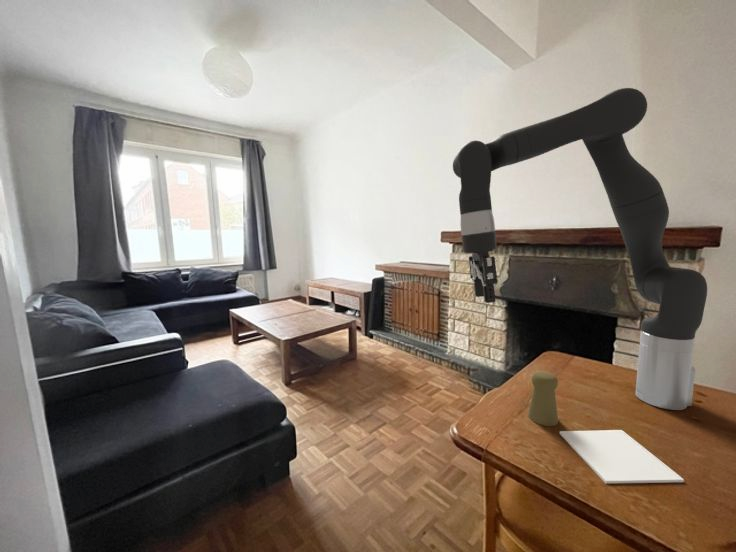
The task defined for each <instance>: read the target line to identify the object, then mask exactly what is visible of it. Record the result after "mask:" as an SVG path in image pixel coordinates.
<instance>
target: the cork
mask: <svg viewBox="0 0 736 552" xmlns="http://www.w3.org/2000/svg"><path fill="white" fill-rule="evenodd" d="M531 382H532V385H533V389H532V393H531V399H530V402H529V409H528V414H527V415H528V418H529V419H530V420H531V421H532V422H534V423H535V424H537V425H540V426H545V427H555V426H557V425H558V424H559V415H558V408H557V407H558V406H557V398H556V389H557V387H558V385H559V380H558V378H557V376H556V375H555V374H553V372H550V371H547V370H537V371H534V372H533V373H532V375H531Z"/></svg>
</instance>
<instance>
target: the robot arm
mask: <svg viewBox="0 0 736 552" xmlns="http://www.w3.org/2000/svg"><path fill="white" fill-rule="evenodd" d="M647 110H648V101H647V97H646V96H645V94H644V93H643V92H642V91H640V90H638V89H637V88H632V87H623V88H619V89H616V90H613V91H611V92H608V93H607V94H605V95H604V96H603V97H601V98H599V99H598V100H595V101H593V102H592V103H589V104H587V105H584V106H581V107H580V108H577V109H574V110H573V111H570V112H568V113H564V114H561V115H559V116H556V117H553V118H550V119H547V120H542V121H540V122H537V123H533V124H531V125H527V126H525V127H521V128H517V129H514V130H512V131H509V132H505V133H503V134H501V135H499V136H497V137H495V139H493V140H492V141H489V142H486V143H484V142H483V141H480V140H471V141H469V142H466V143H465V144H464V145H463V146H462V147H461V148H460V149H459V151H458V152H457V154H456V155H455V157H454V159H453V163H452V171H453V172H454V175H455V176H456V177H458V178H459V179H460V187H461V188H460V191H459V194H458V202H459V205H458V206H459V213H460V233H461V235H460V236H461V244H462V252H463V254H468V255H469V254H472V255H470V256H468V264H469V265H468V266H469V273H470V279H471V281H472V282H473V287H474V296H475V297H477V298H480V297H483V298H484V299H483V301H484V302H485V303H486V304H489V303H490V304H491V303H495V302H496V294H495V285H496V284H498V276H497V274H498V273H497V266H496V258H495V256H490V254H489V253H490V252H494V251H496V250H497V249H498V245H497V238H496V237H497V236H496V225H495V218H494V215H493V214H494V212H493V208H492V207H493V206H492V197H491V192H490V191H491V179H492V172H493V171H495V170H497V169H500V168H501V169H502V168H503V167H507V166H512V165H514V164H517V163H521V162H524V161H527V160H531V159H534V158H536V157H539V156H542V155H544V154H546V153H549V152H551V151H554V150H556V149H558V148H561V147H563V146H566V145H569V144H572V143H574V142H577V141H581V140H582V142H583V144H584V146H585V147H586V149H587V152H588V153H589V156H590V157H591V159H592V160H593V162H594V165H595V167H596V169H597V172H598V175H599V177H600V180H601V182H602V183H601V184H602V186H603V187H604V189H605V193H606V195H607V199H608V202H609V204H610V207H611V210H612V213H613V216H614V218H615V221H616V223H617V226H618V228H619V231H620V234H621V236H622V240H623V243H624V245H625V249H626V251H627V255H628V259H629V262H630V267H631V272H632V277H633V281H634V285H635V288H636V290H637V293H638V294H639V296H641V298H643V299H644V300H646V301H648V302H650V303H653V304H658V305H659V307H658V312H657V315H656V316H650V317H645V318H643V319H642V321H641V326H640V337H639V347H638V348H639V349H638V359H637V371H636V381H635V382H636V383H635V396H636V397H637V398H638V399H639V400H640V401H643V402H644V403H646V404H648V405H651V406H654V407H656V408H661V409H666V410H670V411H671V410H672V411H683V410H685V409H687V407H691V406H692V403H693V395H694V394H693V393H694V385H695V376H696V368H695V367H693V366H692V364H693V357H694V356H693V355H694V346H695V338H696V333H697V330H699V328H700V326H701V324H702V321H703V317H704V310H705V306H706V301H707V295H708V283H707V280H706V278H705V277H704V275H703V274H702V273H701V272H699V271H697V270H693V269H688V268H681V267H674V266H670V265H669V262H668V261H667V258H666V256H665V255H666V254H665V252H664V250H663V243H662V242H663V236H664V234H665V230H666V228H667V224H668V221H669V216H670V209H669V205H668V202H667V201H668V200H667V198H666V196H665V192H664V190H663V187H662V185H661V183H660V182H659V180H658V179H657V178H656V177H655V176H654V175H653V174H652V173H651V171H649V170H647V168H645V167H644V166H643V165H642V164H641V163H640V162H638V161H637V159H635V158H634V157H633V155H631V152H630V151H629V149H628V147H627V144H626V141H625V139H624V136H623V135H624V134H627V133H629V131H631V130H632V129H634V128H635V127H637V126H638V125H639V124H640V123H641V122H642V121H643V119H644V117H645V116H646V113H647Z"/></svg>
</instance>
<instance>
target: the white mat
mask: <svg viewBox="0 0 736 552" xmlns="http://www.w3.org/2000/svg"><path fill="white" fill-rule="evenodd" d="M559 435H560V436H561V437H562V438H563V439H564V440H565V441H566V442H567V443H568V444H569V445H570V447H571V448H572V449H573V450H574V451H575V453H577V455H578V456H579V457H580V458H581V459H583V461H584V462H585V463H586V464H587V465H588V466H589V467H590V468H591V469H592V470H593V472H594V473H595V474H596V475H597V476H598V477H599V478H600V479H601V481H603V483H604V484H648V483H650V484H651V483H655V484H656V483H662V484H663V483H684V482H685V479H684V478H682V476H681V475H679V474H678V473H677V472H676V471H674V470H673V469H672V468H670V467H669V466H668V465H666V464H665V463H664V462H663V461H662V460H660V459H659V458H658V457H657V456H655V455H654V454H653V453H651V452H650V451H649V450H647V449H646V448H645V447H644V446H643V445H642V444H640V443H639V442H637V441H636V440H635V439H634V438H633V437H631V436H630V435H629V434H627V433H626V432H625V431H623V430H622V429H607V430H604V429H603V430H601V429H599V430H559Z"/></svg>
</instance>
